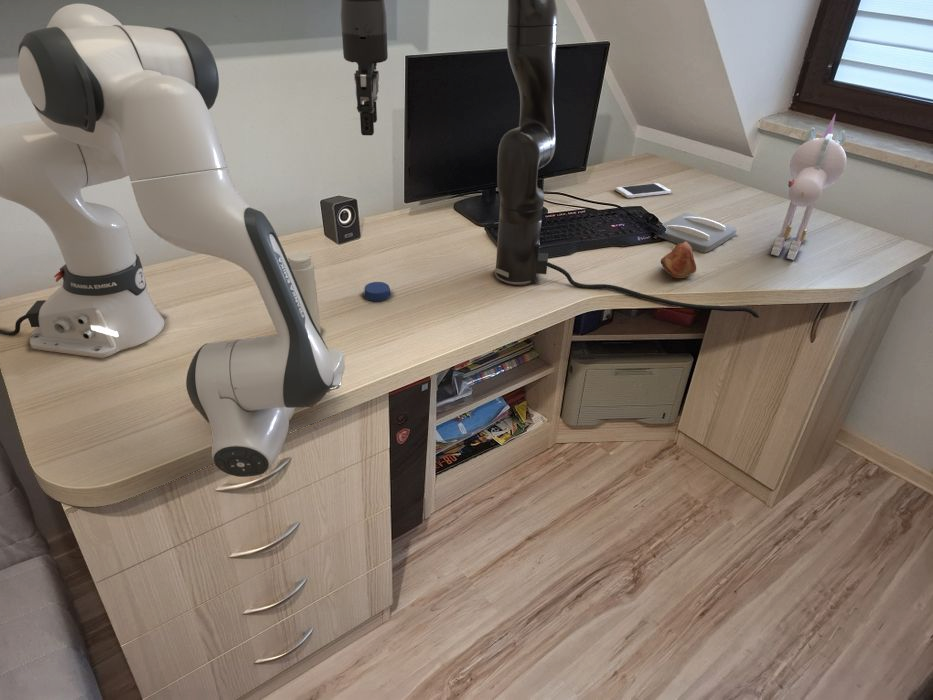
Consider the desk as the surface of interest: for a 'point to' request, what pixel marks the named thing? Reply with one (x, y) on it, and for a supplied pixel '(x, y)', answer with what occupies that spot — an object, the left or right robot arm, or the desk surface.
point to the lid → (377, 291)
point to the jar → (306, 282)
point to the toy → (811, 180)
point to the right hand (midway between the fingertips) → (369, 128)
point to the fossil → (680, 261)
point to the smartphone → (642, 190)
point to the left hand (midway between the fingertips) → (289, 340)
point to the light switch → (697, 232)
